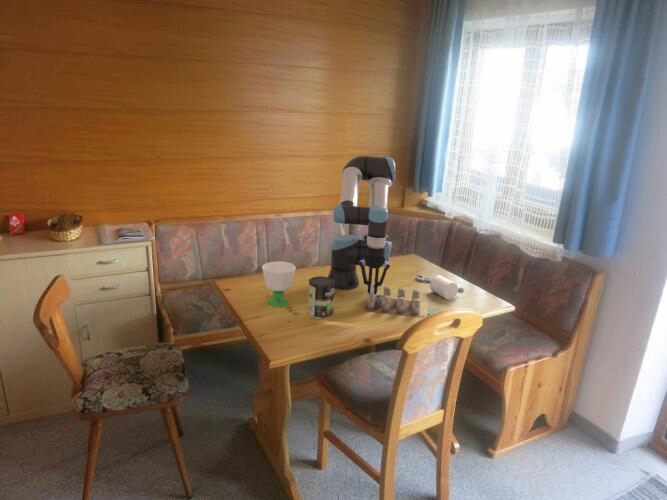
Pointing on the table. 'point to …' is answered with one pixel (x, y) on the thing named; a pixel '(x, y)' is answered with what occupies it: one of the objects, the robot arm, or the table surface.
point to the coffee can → (321, 297)
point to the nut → (378, 301)
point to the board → (395, 303)
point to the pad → (432, 310)
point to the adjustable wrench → (426, 279)
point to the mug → (444, 287)
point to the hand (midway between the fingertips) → (371, 300)
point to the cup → (278, 281)
